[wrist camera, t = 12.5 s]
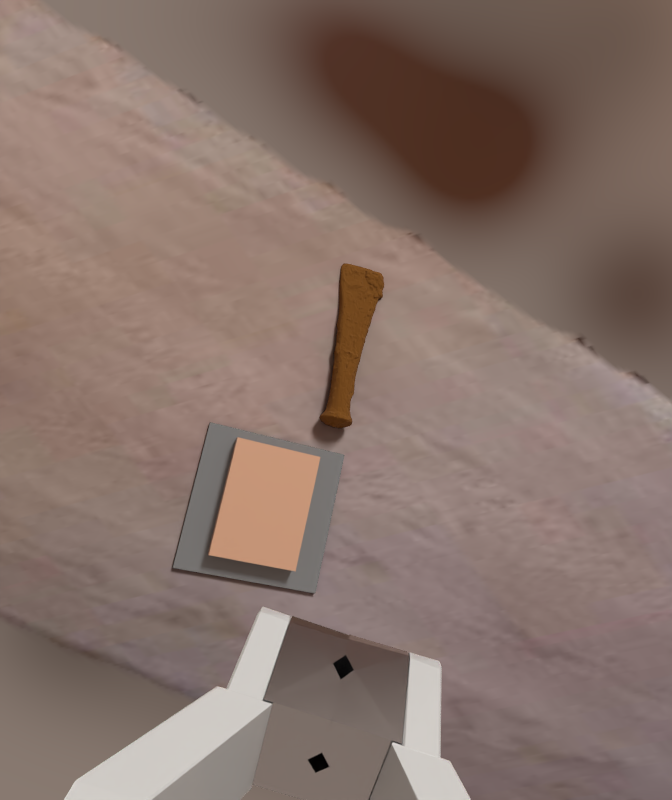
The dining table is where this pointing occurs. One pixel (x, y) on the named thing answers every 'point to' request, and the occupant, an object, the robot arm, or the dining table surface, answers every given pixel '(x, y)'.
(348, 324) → the primitive tool
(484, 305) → the dining table surface
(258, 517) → the tile
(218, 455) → the mat
